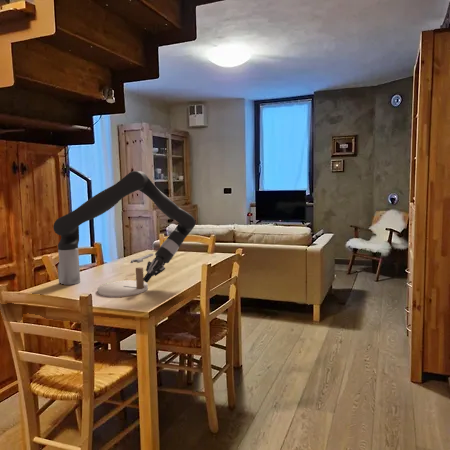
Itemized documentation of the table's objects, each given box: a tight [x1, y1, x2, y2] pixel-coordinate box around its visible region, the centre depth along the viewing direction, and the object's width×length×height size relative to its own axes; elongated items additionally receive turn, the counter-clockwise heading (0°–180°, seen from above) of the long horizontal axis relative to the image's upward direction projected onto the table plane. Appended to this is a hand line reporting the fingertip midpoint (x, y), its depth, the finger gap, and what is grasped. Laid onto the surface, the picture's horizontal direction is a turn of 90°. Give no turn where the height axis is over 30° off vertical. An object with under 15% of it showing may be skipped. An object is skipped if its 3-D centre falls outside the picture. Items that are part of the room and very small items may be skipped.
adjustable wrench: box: [130, 253, 154, 264], centre depth 262 cm, size 25×6×2 cm, turn 160°
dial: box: [97, 266, 149, 298], centre depth 185 cm, size 22×22×10 cm
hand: (144, 281), depth 185 cm, fingers closed
